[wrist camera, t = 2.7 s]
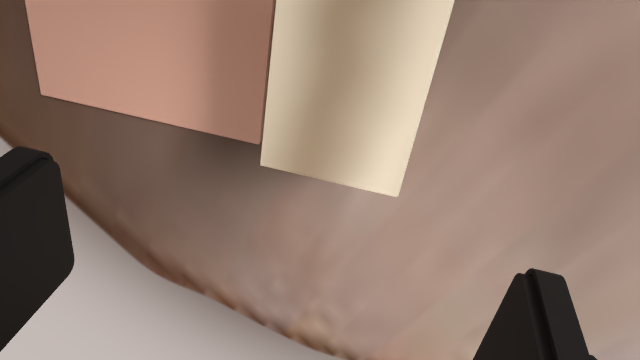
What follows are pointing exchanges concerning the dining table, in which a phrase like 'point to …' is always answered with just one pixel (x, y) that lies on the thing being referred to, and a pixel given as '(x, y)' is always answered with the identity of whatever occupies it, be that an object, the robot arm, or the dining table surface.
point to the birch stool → (350, 87)
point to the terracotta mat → (159, 59)
